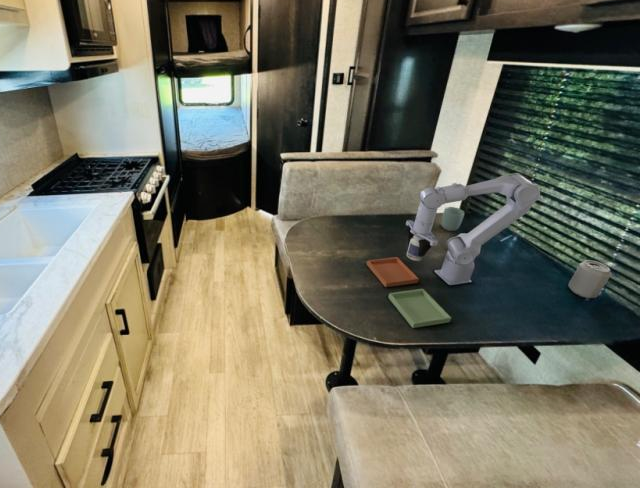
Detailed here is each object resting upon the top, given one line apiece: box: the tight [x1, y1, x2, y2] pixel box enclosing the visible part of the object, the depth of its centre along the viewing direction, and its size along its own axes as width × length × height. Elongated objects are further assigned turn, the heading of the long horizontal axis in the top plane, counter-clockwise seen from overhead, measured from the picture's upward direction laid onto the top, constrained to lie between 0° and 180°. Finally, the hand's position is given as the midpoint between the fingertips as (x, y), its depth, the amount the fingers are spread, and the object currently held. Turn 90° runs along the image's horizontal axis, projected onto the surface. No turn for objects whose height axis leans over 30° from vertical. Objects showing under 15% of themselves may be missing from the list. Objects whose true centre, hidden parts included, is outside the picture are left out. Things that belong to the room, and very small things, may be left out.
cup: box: [440, 206, 466, 232], centre depth 148 cm, size 8×8×10 cm
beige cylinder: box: [567, 259, 612, 299], centre depth 109 cm, size 8×8×12 cm
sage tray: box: [388, 288, 452, 329], centre depth 105 cm, size 13×13×2 cm
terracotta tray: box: [366, 256, 419, 288], centre depth 121 cm, size 13×13×2 cm
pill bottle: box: [406, 234, 424, 262], centre depth 118 cm, size 5×5×10 cm
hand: (415, 250), depth 119 cm, fingers closed on pill bottle, 5 cm apart
